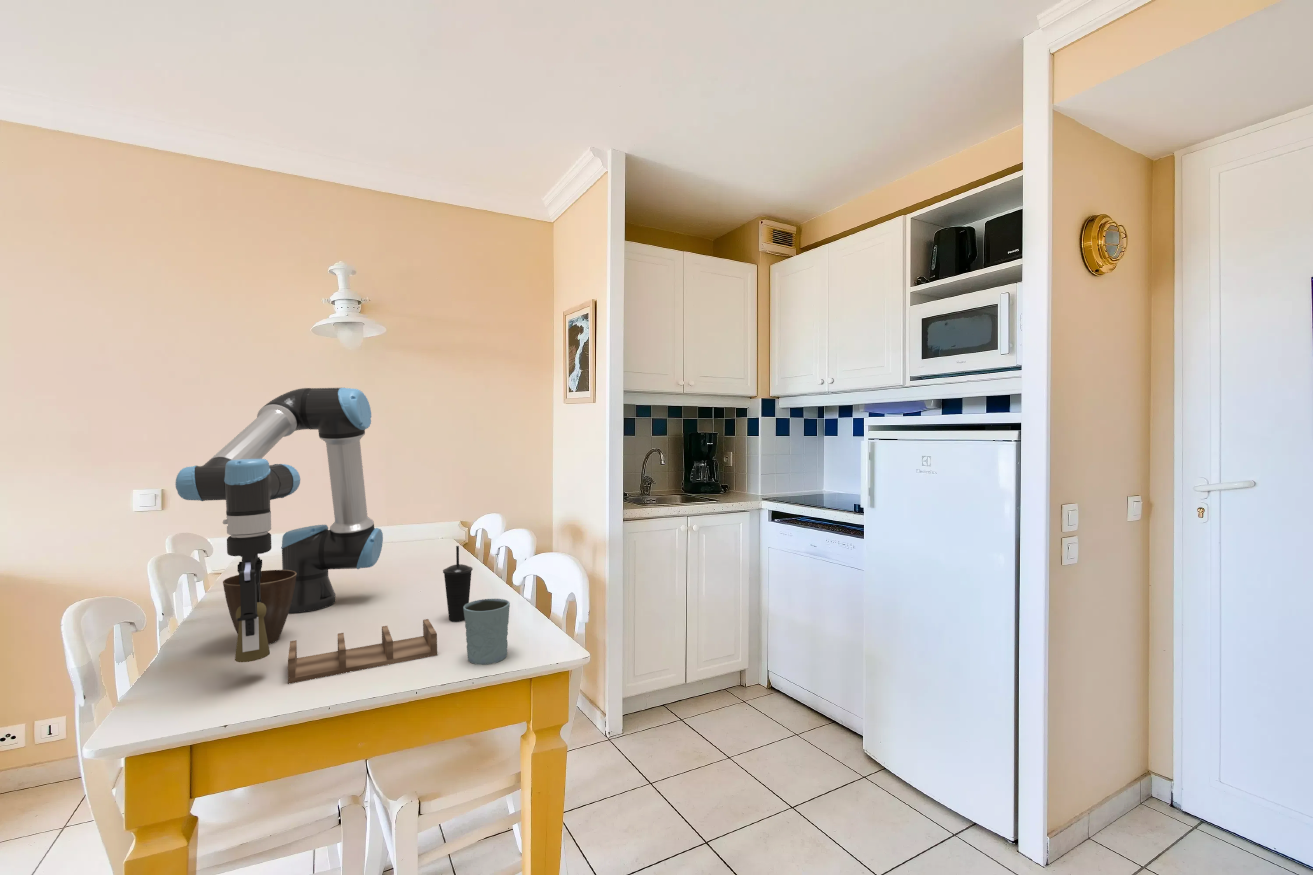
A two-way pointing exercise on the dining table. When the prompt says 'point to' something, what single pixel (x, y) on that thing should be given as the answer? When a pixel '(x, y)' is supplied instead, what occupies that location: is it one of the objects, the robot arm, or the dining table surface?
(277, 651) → the dining table surface
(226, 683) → the dining table surface
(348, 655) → the spice rack
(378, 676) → the dining table surface
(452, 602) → the drinking cup
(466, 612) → the grey-green tumbler
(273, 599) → the plant pot
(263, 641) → the olive peg figure
